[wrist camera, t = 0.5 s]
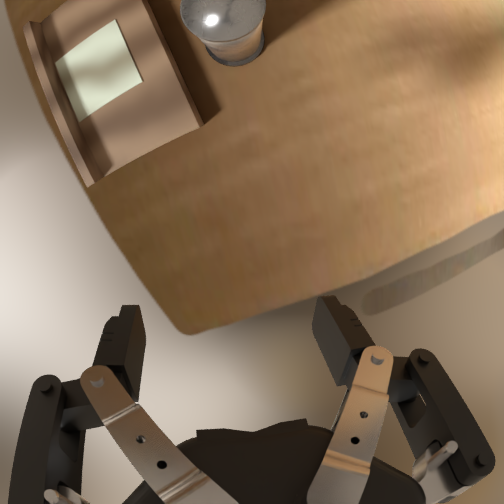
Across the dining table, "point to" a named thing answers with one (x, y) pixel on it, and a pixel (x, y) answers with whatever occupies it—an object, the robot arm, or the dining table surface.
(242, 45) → the canister
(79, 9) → the platform
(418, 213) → the dining table surface
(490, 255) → the dining table surface
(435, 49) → the dining table surface
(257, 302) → the dining table surface
